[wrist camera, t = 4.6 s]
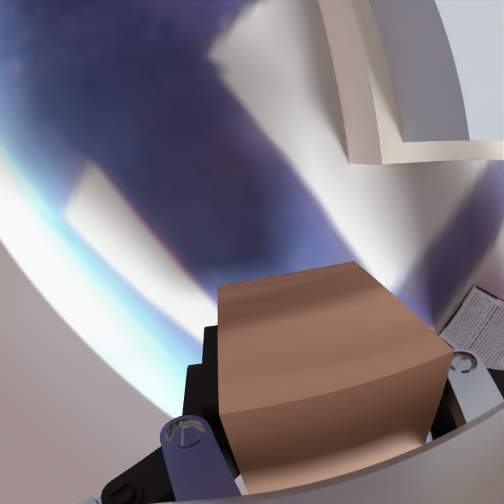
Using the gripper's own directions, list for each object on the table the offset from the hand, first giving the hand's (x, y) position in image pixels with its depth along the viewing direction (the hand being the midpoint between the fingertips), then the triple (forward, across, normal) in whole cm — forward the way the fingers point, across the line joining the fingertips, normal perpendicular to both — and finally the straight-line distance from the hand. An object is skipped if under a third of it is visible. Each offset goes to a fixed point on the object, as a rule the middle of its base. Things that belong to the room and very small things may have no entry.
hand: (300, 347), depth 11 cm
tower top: (+2, -11, -12) cm, 17 cm away
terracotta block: (+1, 0, 0) cm, 1 cm away
